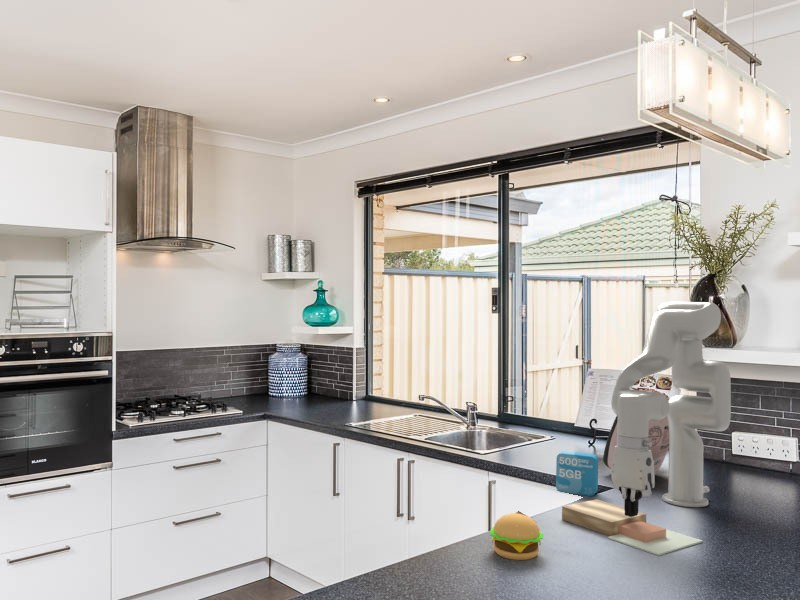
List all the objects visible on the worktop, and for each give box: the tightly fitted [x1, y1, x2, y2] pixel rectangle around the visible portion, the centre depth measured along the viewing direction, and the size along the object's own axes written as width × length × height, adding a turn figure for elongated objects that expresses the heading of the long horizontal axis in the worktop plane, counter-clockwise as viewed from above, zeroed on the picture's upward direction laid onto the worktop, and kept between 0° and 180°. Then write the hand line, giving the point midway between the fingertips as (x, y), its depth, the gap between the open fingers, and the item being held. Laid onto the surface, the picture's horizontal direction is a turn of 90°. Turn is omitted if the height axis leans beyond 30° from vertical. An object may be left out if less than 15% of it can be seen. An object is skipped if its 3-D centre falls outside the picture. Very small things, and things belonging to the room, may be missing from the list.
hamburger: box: [489, 512, 544, 561], centre depth 157 cm, size 12×12×9 cm
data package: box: [555, 450, 599, 497], centre depth 212 cm, size 12×4×12 cm, turn 65°
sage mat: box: [607, 528, 704, 557], centre depth 168 cm, size 18×14×1 cm
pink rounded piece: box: [602, 390, 669, 475], centre depth 233 cm, size 22×20×30 cm
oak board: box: [561, 499, 647, 537], centre depth 181 cm, size 14×16×4 cm
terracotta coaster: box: [618, 520, 667, 542], centre depth 170 cm, size 8×8×2 cm
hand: (631, 515), depth 174 cm, fingers closed
